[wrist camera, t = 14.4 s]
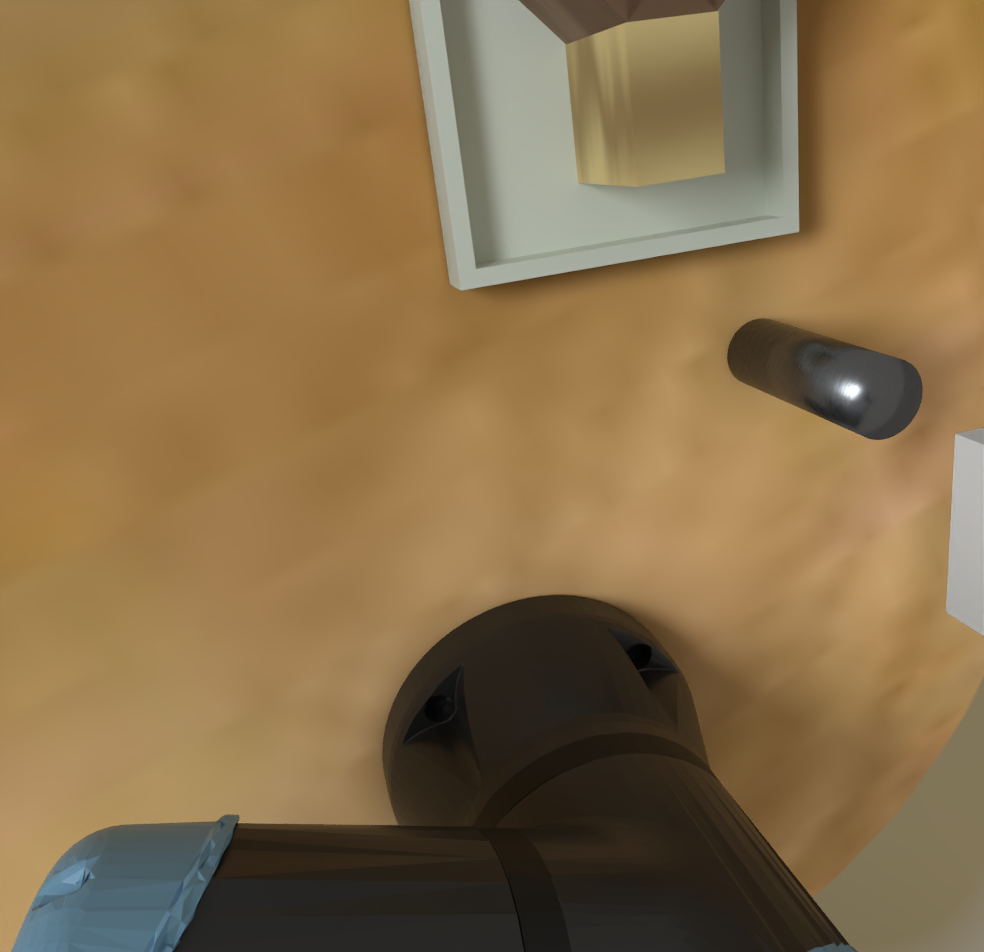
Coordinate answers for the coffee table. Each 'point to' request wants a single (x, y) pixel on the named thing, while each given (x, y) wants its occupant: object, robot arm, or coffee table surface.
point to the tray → (551, 150)
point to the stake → (827, 377)
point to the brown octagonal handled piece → (641, 87)
